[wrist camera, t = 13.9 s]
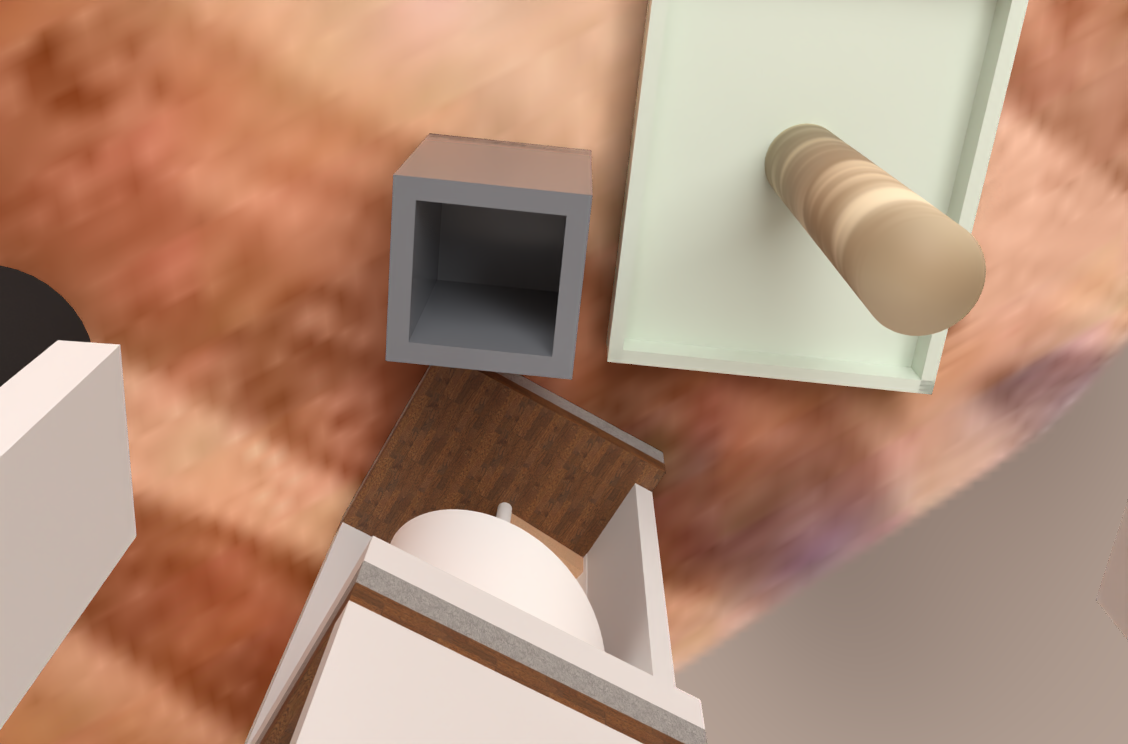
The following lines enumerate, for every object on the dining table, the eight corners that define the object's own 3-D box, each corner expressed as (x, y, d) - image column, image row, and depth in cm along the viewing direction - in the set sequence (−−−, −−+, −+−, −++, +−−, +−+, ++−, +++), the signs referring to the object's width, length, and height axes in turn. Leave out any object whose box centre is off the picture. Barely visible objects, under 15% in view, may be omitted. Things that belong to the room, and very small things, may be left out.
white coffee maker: (662, 452, 50) (806, 1394, 17) (549, 618, 53) (490, 1664, 21) (446, 335, 48) (148, 1144, 15) (343, 514, 51) (-79, 1487, 19)
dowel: (771, 119, 43) (875, 211, 27) (850, 127, 43) (999, 224, 27) (758, 197, 44) (850, 329, 28) (834, 205, 44) (969, 342, 28)
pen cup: (429, 133, 45) (393, 174, 36) (591, 150, 45) (592, 195, 36) (421, 288, 47) (385, 360, 39) (574, 304, 47) (571, 379, 39)
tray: (659, -94, 41) (663, -97, 39) (1016, -55, 42) (1041, -56, 39) (606, 341, 48) (607, 361, 46) (915, 373, 48) (931, 394, 46)
